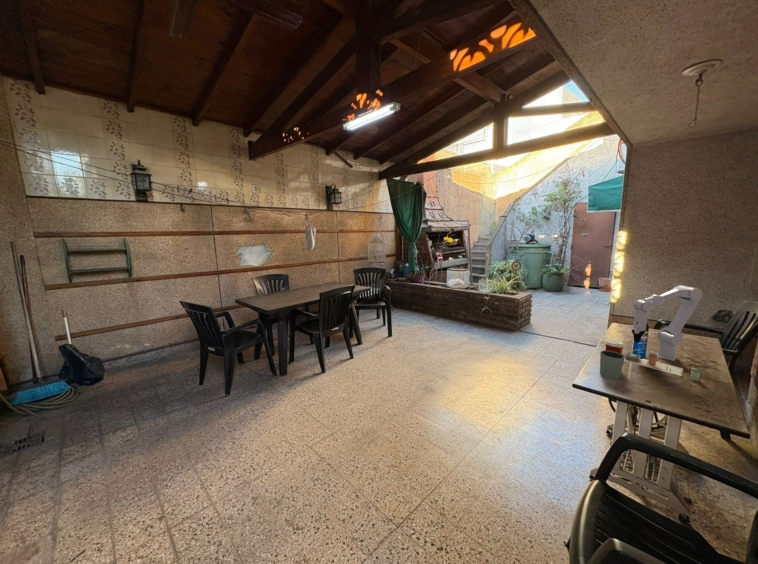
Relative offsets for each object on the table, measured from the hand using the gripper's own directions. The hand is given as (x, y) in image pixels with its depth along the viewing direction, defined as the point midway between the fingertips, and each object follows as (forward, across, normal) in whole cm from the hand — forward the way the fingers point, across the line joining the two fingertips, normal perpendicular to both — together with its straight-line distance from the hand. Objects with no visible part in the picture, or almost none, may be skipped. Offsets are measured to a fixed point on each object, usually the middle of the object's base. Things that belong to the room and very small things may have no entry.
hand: (636, 342), depth 172 cm
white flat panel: (+10, +6, +8) cm, 14 cm away
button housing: (+9, +6, 0) cm, 11 cm away
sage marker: (+10, +11, +25) cm, 29 cm away
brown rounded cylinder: (+9, +6, +8) cm, 14 cm away
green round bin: (+10, +36, -5) cm, 38 cm away
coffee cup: (+10, +24, -6) cm, 27 cm away
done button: (+9, +6, 0) cm, 10 cm away
